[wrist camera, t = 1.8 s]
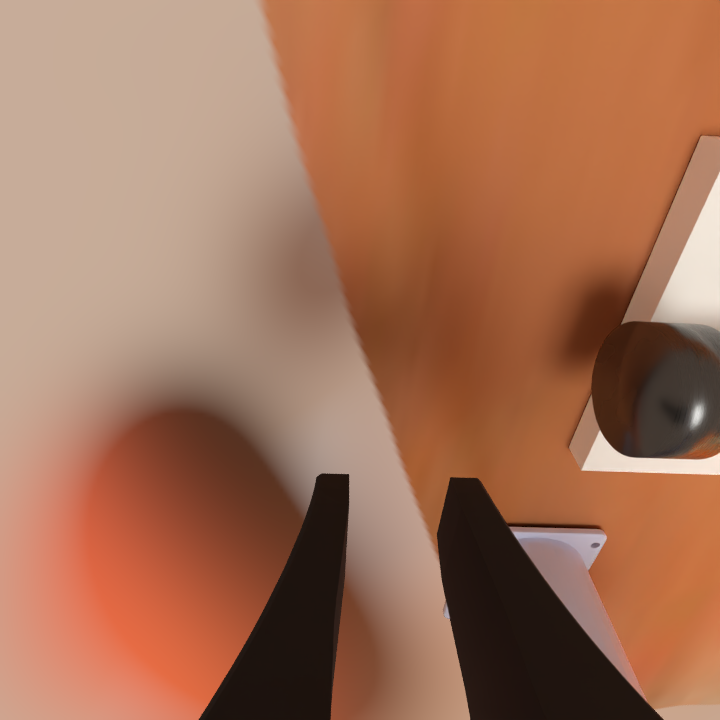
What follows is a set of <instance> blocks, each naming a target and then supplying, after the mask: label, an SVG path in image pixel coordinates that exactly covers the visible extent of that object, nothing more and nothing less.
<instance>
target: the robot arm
mask: <svg viewBox="0 0 720 720" xmlns="http://www.w3.org/2000/svg"><path fill="white" fill-rule="evenodd" d="M348 513H349V474H320V475H319V476H317V478H316V483H315V488H314V492H313V496H312V499H311V502H310V505H309V508H308V511H307V515H306V517H305V520H304V523H303V525H302V528H301V531H300V533H299V535H298V538H297V540H296V542H295V545H294V547H293V549H292V552H291V554H290V556H289V559H288V561H287V564H286V566H285V568H284V570H283V572H282V574H281V576H280V578H279V580H278V582H277V584H276V586H275V588H274V590H273V592H272V594H271V596H270V598H269V600H268V602H267V604H266V606H265V608H264V610H263V612H262V614H261V616H260V618H259V620H258V621H257V623H256V625H255V627H254V629H253V631H252V632H251V634H250V636H249V638H248V640H247V641H246V643H245V645H244V647H243V648H242V650H241V652H240V653H239V655H238V657H237V659H236V660H235V662H234V664H233V665H232V667H231V669H230V670H229V672H228V674H227V675H226V677H225V678H224V680H223V682H222V683H221V685H220V687H219V688H218V690H217V692H216V693H215V695H214V696H213V698H212V699H211V701H210V703H209V704H208V706H207V708H206V709H205V711H204V712H203V714H202V716H201V717H200V718H199V720H330V718H331V700H332V687H333V679H334V670H335V661H336V651H337V643H338V634H339V624H340V616H341V607H342V597H343V588H344V579H345V563H346V547H347V546H346V544H347V528H348ZM437 539H438V549H439V559H440V568H441V577H442V583H443V588H444V593H445V598H446V602H445V605H444V609H443V612H444V617H446V618H448V619H450V621H451V626H452V631H453V635H454V640H455V645H456V649H457V654H458V658H459V663H460V668H461V672H462V677H463V681H464V686H465V691H466V696H467V702H468V708H469V713H470V720H663V718H662V717H660V715H659V714H658V713H657V712H656V711H655V710H654V709H653V708H652V707H651V706H650V705H649V704H648V702H647V700H646V698H645V696H644V694H643V691H642V689H641V687H640V685H639V683H638V680H637V678H636V676H635V674H634V672H633V669H632V667H631V665H630V663H629V660H628V658H627V656H626V654H625V652H624V649H623V647H622V645H621V643H620V641H619V638H618V636H617V634H616V632H615V630H614V627H613V625H612V623H611V621H610V619H609V616H608V614H607V612H606V610H605V608H604V605H603V603H602V601H601V599H600V597H599V594H598V592H597V590H596V588H595V586H594V583H593V581H592V579H591V577H590V575H589V572H588V571H589V569H590V567H591V565H592V564H593V562H594V560H595V558H596V557H597V555H598V553H599V552H600V550H601V548H602V546H603V545H604V543H605V541H606V539H607V537H606V535H605V533H604V531H603V530H600V529H577V528H539V527H509V526H508V525H507V523H506V522H505V520H504V519H503V517H502V515H501V514H500V512H499V511H498V509H497V507H496V506H495V504H494V503H493V501H492V499H491V498H490V496H489V494H488V493H487V491H486V489H485V488H484V486H483V484H482V483H481V481H480V480H479V479H478V478H453V477H450V481H449V486H448V490H447V494H446V498H445V503H444V507H443V511H442V515H441V519H440V524H439V528H438V532H437Z"/></svg>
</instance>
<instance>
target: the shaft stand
mask: <svg viewBox="0 0 720 720" xmlns="http://www.w3.org/2000/svg"><path fill="white" fill-rule="evenodd" d="M631 321H643V322H666V323H689V324H702V325H707V326H710V327H712V328H714V329H716V330H718V331H719V332H720V137H718V136H701V137H700V139H699V142H698V144H697V147H696V149H695V151H694V154H693V156H692V158H691V161H690V163H689V165H688V168H687V170H686V172H685V175H684V177H683V180H682V182H681V184H680V187H679V189H678V191H677V194H676V196H675V198H674V201H673V203H672V205H671V208H670V210H669V212H668V215H667V217H666V220H665V222H664V224H663V227H662V229H661V231H660V234H659V236H658V238H657V241H656V243H655V245H654V248H653V250H652V253H651V255H650V257H649V260H648V262H647V264H646V267H645V269H644V271H643V274H642V276H641V278H640V281H639V283H638V286H637V288H636V290H635V293H634V295H633V297H632V300H631V302H630V304H629V307H628V309H627V311H626V314H625V316H624V319H623V321H622V323H621V325H622V324H624V323H627V322H631ZM569 449H570V451H571V453H572V454H573V456H574V458H575V460H576V462H577V464H578V465H579V467H580V469H581V470H583V471H615V472H647V473H679V474H711V475H720V453H719V454H717V455H715V456H713V457H710V458H706V459H699V460H690V459H659V458H633V457H628V456H625V455H622V454H621V453H619V452H617V451H616V450H615V449H613V448H612V446H611V445H610V444H609V443H608V442H607V441H606V439H605V438H604V436H603V434H602V433H601V430H600V428H599V426H598V423H597V420H596V417H595V413H594V409H593V403H592V394H591V396H590V399H589V401H588V403H587V406H586V408H585V410H584V413H583V415H582V417H581V420H580V422H579V425H578V427H577V429H576V432H575V434H574V436H573V439H572V441H571V443H570V446H569Z"/></svg>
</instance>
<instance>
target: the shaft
mask: <svg viewBox="0 0 720 720" xmlns="http://www.w3.org/2000/svg"><path fill="white" fill-rule="evenodd" d="M592 403H593V409H594V413H595V417H596V420H597V423H598V426H599V428H600V430H601V433H602V434H603V436H604V438H605V439H606V441H607V442H608V443H609V444H610V445H611V446H612V448H613V449H615V450H616V451H617V452H619V453H621V454H622V455H625V456H628V457H633V458H659V459H690V460H699V459H706V458H710V457H713V456H715V455H717V454H719V453H720V332H719V331H718V330H716V329H714V328H712V327H710V326H707V325H702V324H689V323H666V322H643V321H631V322H627V323H624V324H622V325H620V326H618V327H617V328H615V329H614V330H613V331H612V332H611V333H610V334H609V335H608V337H607V338H606V339H605V341H604V342H603V344H602V346H601V348H600V350H599V352H598V355H597V358H596V361H595V365H594V370H593V376H592Z"/></svg>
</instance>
